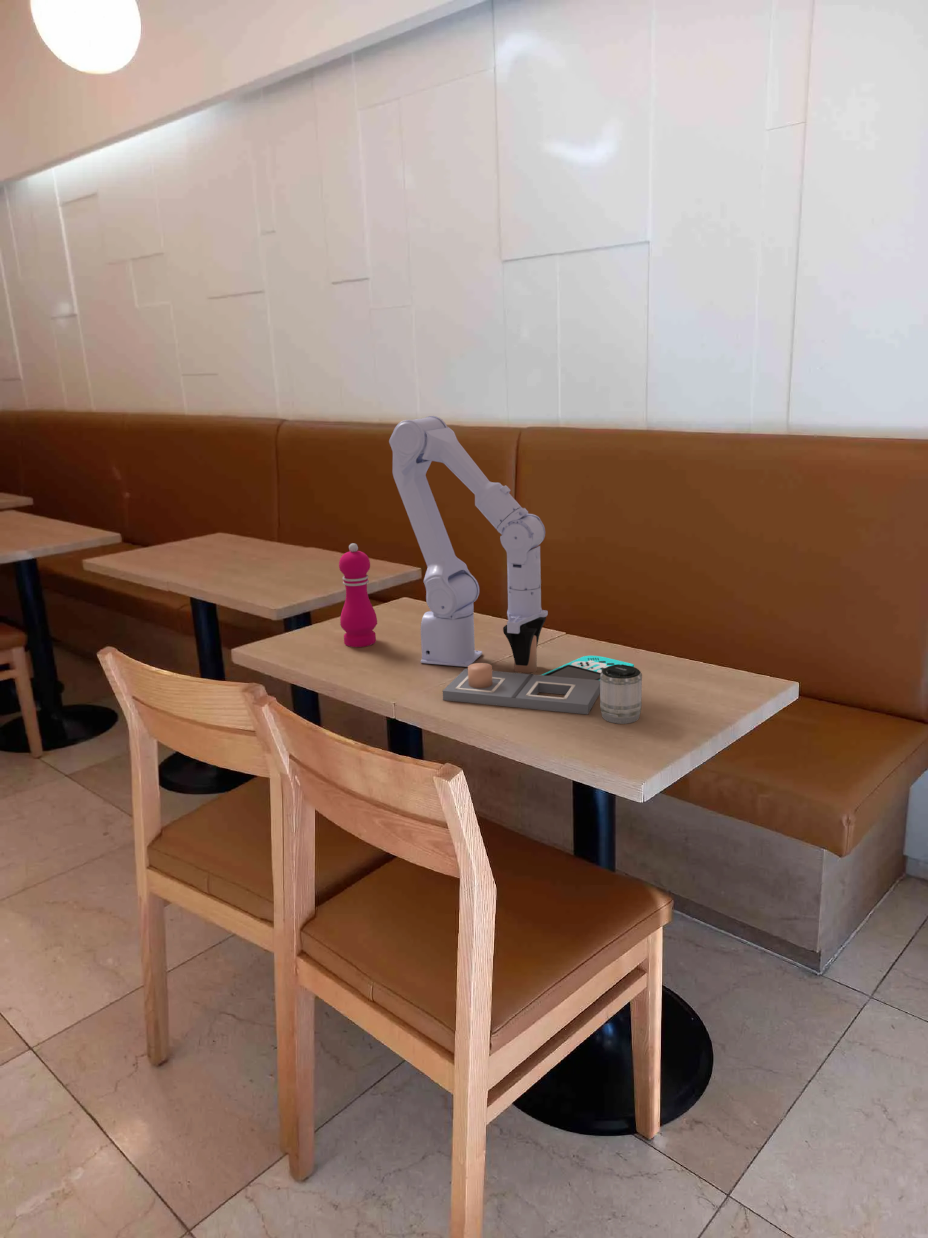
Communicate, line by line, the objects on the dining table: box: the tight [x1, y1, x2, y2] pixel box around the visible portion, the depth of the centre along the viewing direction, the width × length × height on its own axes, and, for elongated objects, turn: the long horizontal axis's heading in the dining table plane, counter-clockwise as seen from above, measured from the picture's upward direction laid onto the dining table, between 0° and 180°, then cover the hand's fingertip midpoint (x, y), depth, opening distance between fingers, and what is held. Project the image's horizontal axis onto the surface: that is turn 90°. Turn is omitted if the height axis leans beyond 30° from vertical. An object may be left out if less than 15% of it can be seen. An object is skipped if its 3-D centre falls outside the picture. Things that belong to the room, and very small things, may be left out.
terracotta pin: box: [513, 635, 538, 674], centre depth 160 cm, size 4×4×6 cm
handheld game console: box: [541, 655, 635, 680], centre depth 157 cm, size 10×16×1 cm, turn 136°
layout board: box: [442, 662, 600, 715], centre depth 148 cm, size 24×11×5 cm, turn 70°
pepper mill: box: [338, 542, 378, 648], centre depth 176 cm, size 7×7×20 cm
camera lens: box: [599, 664, 643, 725], centre depth 138 cm, size 6×6×8 cm
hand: (525, 660), depth 160 cm, fingers closed on terracotta pin, 4 cm apart
